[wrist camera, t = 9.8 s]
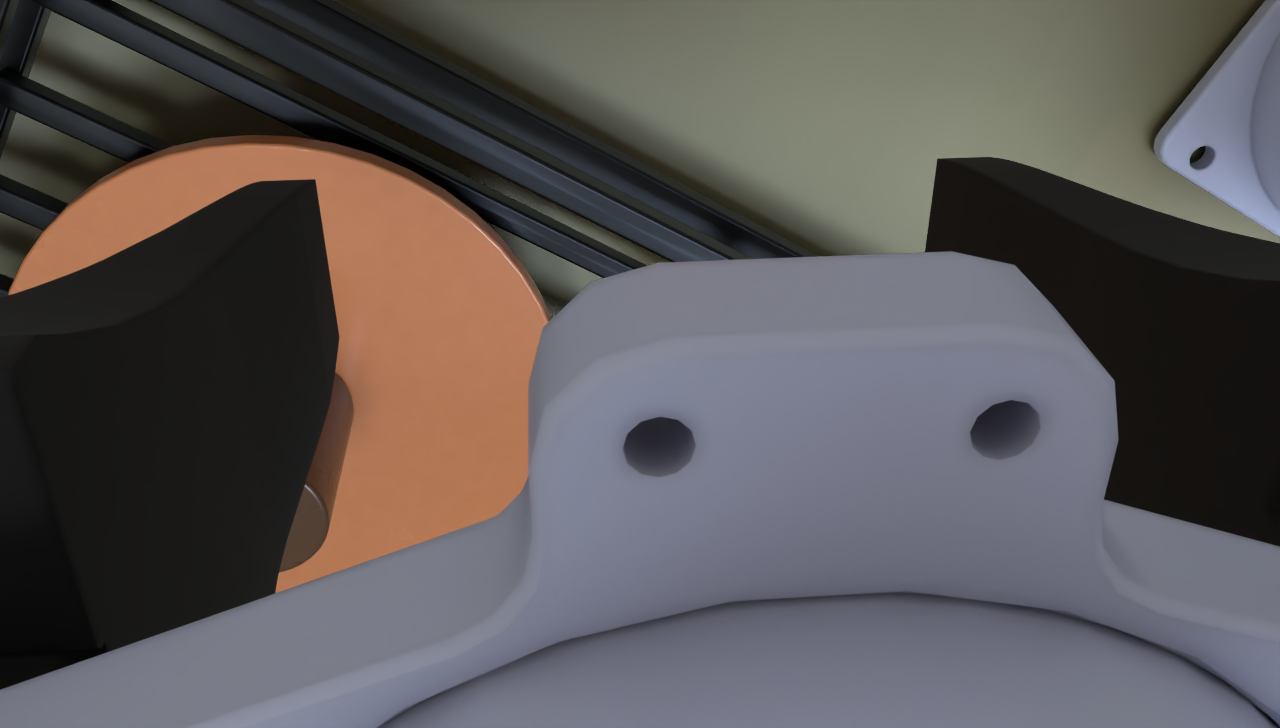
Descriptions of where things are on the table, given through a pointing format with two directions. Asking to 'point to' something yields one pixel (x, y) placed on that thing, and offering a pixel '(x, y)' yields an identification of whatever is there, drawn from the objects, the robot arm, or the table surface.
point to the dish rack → (398, 91)
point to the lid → (362, 335)
